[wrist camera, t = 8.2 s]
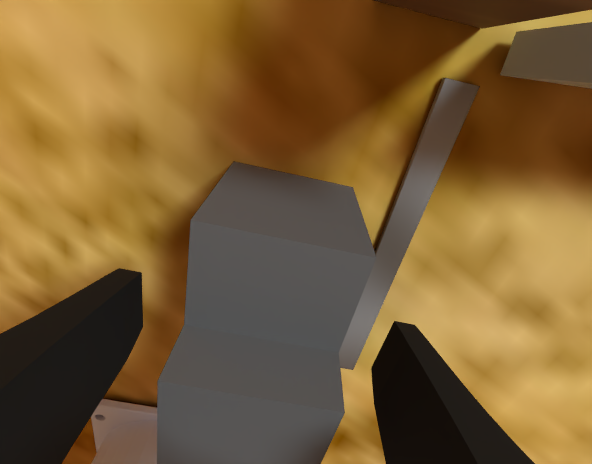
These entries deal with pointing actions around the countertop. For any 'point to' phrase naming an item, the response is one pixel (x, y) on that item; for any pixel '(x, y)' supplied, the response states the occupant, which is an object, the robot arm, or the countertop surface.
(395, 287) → the countertop surface
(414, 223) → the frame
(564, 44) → the pale grey bar
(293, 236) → the stepped block
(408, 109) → the countertop surface
